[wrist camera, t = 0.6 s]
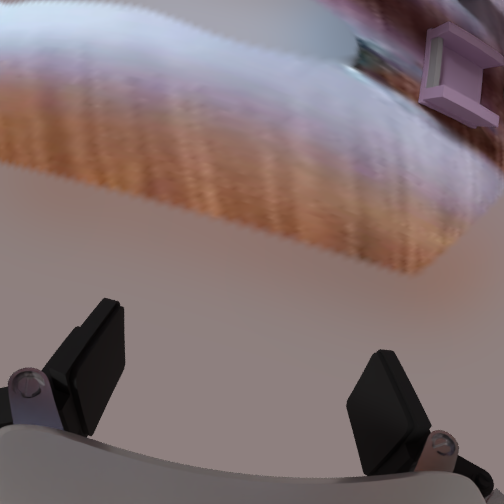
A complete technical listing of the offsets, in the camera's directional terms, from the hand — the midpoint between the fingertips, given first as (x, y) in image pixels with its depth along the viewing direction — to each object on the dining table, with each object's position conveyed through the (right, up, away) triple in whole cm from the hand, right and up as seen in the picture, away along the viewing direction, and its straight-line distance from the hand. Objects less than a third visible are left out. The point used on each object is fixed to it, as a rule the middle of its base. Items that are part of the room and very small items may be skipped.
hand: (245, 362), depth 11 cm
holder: (+28, +28, +21) cm, 45 cm away
